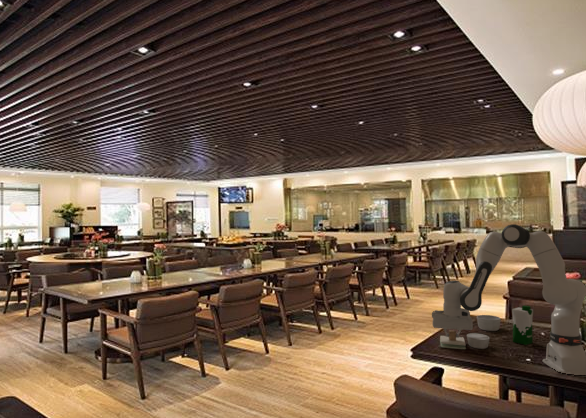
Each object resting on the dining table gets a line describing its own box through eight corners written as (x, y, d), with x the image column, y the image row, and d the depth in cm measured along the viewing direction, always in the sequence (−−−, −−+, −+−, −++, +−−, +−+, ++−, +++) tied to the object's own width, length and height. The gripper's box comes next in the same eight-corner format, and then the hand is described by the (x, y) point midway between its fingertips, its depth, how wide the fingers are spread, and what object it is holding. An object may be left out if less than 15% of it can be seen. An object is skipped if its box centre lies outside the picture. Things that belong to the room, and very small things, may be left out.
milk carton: (527, 346, 222) (526, 308, 223) (510, 341, 230) (509, 305, 230) (535, 343, 227) (534, 306, 228) (518, 339, 235) (517, 303, 235)
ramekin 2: (486, 351, 215) (485, 340, 215) (463, 346, 222) (463, 336, 222) (492, 345, 223) (492, 335, 224) (470, 341, 231) (470, 332, 231)
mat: (465, 349, 217) (465, 348, 217) (441, 347, 221) (441, 346, 221) (463, 341, 230) (463, 341, 230) (439, 340, 233) (439, 339, 233)
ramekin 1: (472, 327, 259) (471, 316, 259) (486, 324, 265) (486, 313, 265) (490, 332, 247) (490, 321, 247) (505, 329, 253) (505, 318, 253)
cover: (465, 345, 218) (465, 335, 218) (441, 343, 221) (441, 333, 222) (463, 338, 229) (463, 329, 230) (440, 337, 233) (440, 327, 233)
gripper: (432, 311, 225) (432, 337, 225) (473, 313, 220) (473, 340, 220) (431, 308, 231) (431, 333, 231) (471, 310, 226) (471, 336, 226)
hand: (452, 337), depth 225 cm, fingers closed on cover, 4 cm apart
